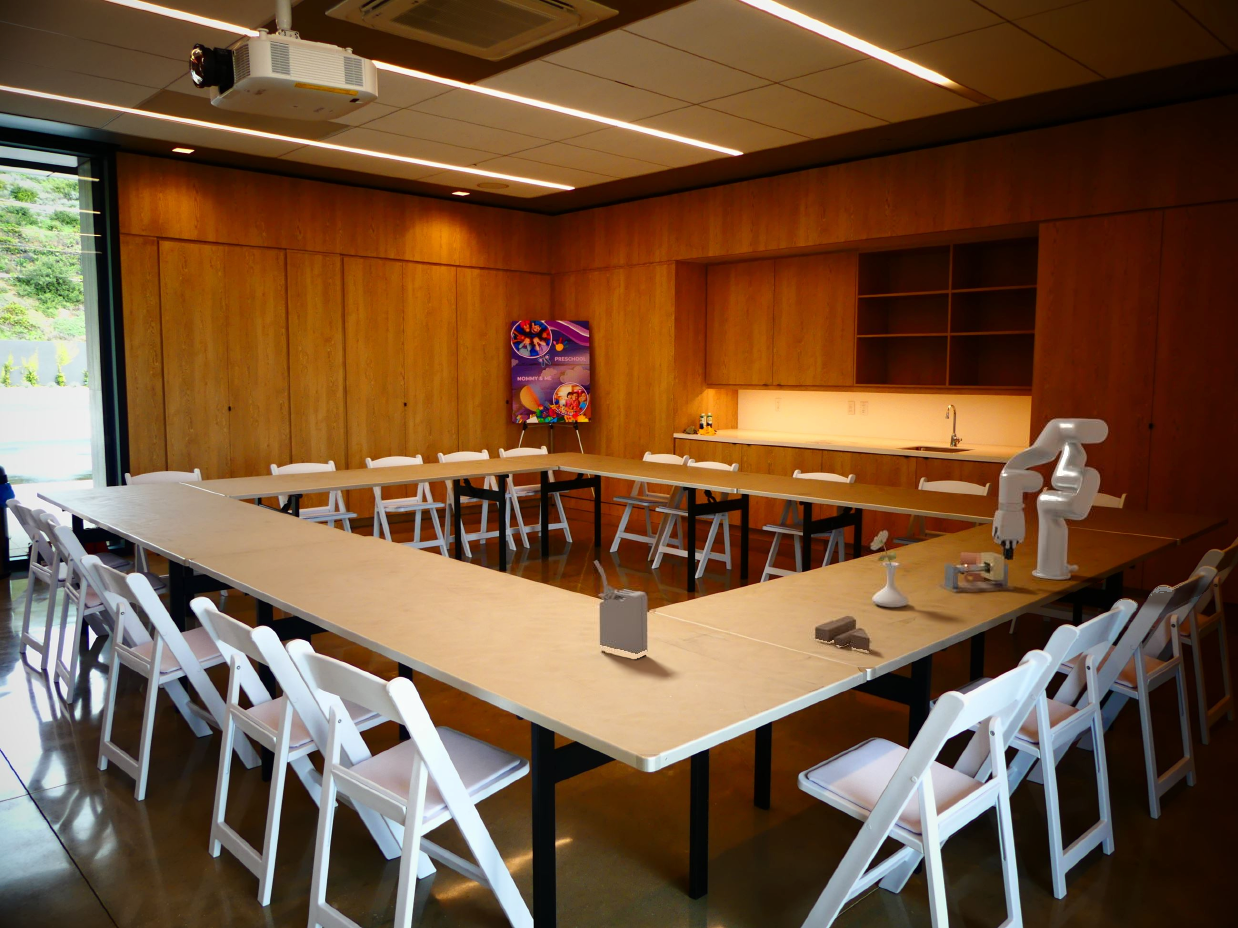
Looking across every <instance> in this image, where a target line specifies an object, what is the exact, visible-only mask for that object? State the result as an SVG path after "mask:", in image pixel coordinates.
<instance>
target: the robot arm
mask: <svg viewBox="0 0 1238 928" xmlns="http://www.w3.org/2000/svg"><path fill="white" fill-rule="evenodd" d="M1108 433H1109V427H1108V425H1107V423H1106V422H1105V421H1104V420H1101V419H1099V418H1097V419H1096V418H1094V419H1092V418H1054V419H1051V420H1050V421H1049V422H1047V424H1046V425H1045V427H1044V428H1043V430H1042V431H1041V433H1040V434H1039V436H1038V437H1037V439H1036V440H1035V441H1034V443H1033V444H1032V446H1029V447H1027V448H1026V449H1023V450H1022V451H1020V452H1018V453H1016V454H1014V456H1012V457H1011V458H1010V459H1009V460H1008V461H1007V463H1006V464H1005V465H1004V467H1003V469H1002V470H1001V472H1000V475H999V478H998V479H999V482H998V483H999V484H998V485H999V486H998V487H999V488H998V510H995V513H994V516H993V521H992V522H993V523H992V531H991V535H992V538H993V539H994V540H993V542H994V543H996V544H999V545H1000V546H1001V547H1002V556H1004V560H1007V561H1013V560H1014V552H1015V551H1014V550H1015V549H1016V546H1017V545H1018V544H1020V543H1023V542H1025V541H1024V538H1025V535H1026V523H1025V522H1026V521H1025V514H1024V511H1023V508H1025V506H1026V505H1025V503H1023V493H1025V492H1026V493H1035V492H1038V491H1039V490H1040V489H1042V487H1043V484H1044V478H1043V476H1042V475H1041V474H1040V472H1037V471H1034V470H1029V469H1028V468H1030V467H1031V468H1032V467H1035V466H1039V465H1043V464H1046V463H1049V462H1052V461H1053V460H1055V459H1056V457H1057V456H1058V455H1059V453H1060V451H1061V454H1060V456H1059V460H1058V462H1057V465H1056V466H1055V469H1054V472H1053V473H1052V475H1051V481H1050V482H1051V485H1052V487H1053V488H1054V489H1056V490H1045V491H1042V492H1041V493H1039V495H1038V497H1037V499H1036V508H1037V513H1038V514H1037V515H1038V541H1037V567H1036V569H1034V570H1032V571H1031V573H1032V575H1033V576H1034V577H1036V578H1041V579H1045V580H1068V579H1070V578H1071V577H1072V576H1071V573H1070V572H1071V571H1072V572H1074V571H1078V570H1079V566H1078V565H1077V564H1076V565H1075V564H1073V565H1070V564H1069V563H1067V561H1068V560H1067V558H1068V556H1067V555H1068V539H1069V538H1068V537H1069V530H1068V525H1067V523H1066V521H1065V519H1066V520H1067V519H1069V520H1074V521H1080V520H1084V519H1085V518H1087V517H1088V514H1089V512H1090V511H1091V508H1092V505H1093V503H1094V501H1095V499H1096V496H1097V494H1098V491H1099V489H1100V486H1101V485H1100V484H1101V477H1100V476H1101V475H1100V473H1099V471H1098V470H1096V469H1095V468H1093V467H1090V466H1085V464H1086V462H1087V457H1088V456H1087V454H1086V451H1085V449H1084V447H1083V446H1082V444H1099V443H1101V442H1103V441H1105V439H1106V438H1107V436H1108ZM1026 469H1028V470H1026Z"/></svg>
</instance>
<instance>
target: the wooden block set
mask: <svg viewBox="0 0 1238 928" xmlns="http://www.w3.org/2000/svg"><path fill="white" fill-rule="evenodd" d="M815 639H819V640H823V641H827V642H830V641H832V640H834V643H833V645H834V644H835V645H839V646H845V645H847V644H849V645H850V648H851V647H853V648H856V649H863V650H867V651H869V652H870V646H871V645H870V643H871V642H870V636H869V635H868V633H867V632H866V630H865V629H863V628H862V627H857V620H856V618H855V617H854V616H851V615H846V616H843V617H839V618H838V619H835V620H830V621H827V622H824V623H822V624H819V625H816V626H815V628H814V640H815ZM850 643H851V644H850ZM835 645H834V646H835ZM847 646H848V645H847ZM845 647H846V646H845Z"/></svg>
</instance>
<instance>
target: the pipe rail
mask: <svg viewBox="0 0 1238 928" xmlns="http://www.w3.org/2000/svg"><path fill="white" fill-rule="evenodd" d="M984 571H990V564H979V565H967V564H965V565H961V564H960V565H955V564H952V563H945V566H944V584H945V586H947V587H949V588H951V589H958V583H959V574H964V573H969V572H984ZM993 581H994V583H996V584H998V585H1001V586H1009V585H1008V583H1009V563H1006V562H1004V575H1003V580H993Z"/></svg>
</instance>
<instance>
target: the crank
mask: <svg viewBox="0 0 1238 928" xmlns="http://www.w3.org/2000/svg"><path fill="white" fill-rule="evenodd" d="M981 553H982V552H966V551H965V552H964V551H963V552H962V551H961V552H960V565H965V564H967V565H979V564H981ZM963 574H964V575H963V580H964V582H983V581H985V577H983V576H981V572H969V573H963ZM969 576H971V579H969V578H968V577H969Z"/></svg>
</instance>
